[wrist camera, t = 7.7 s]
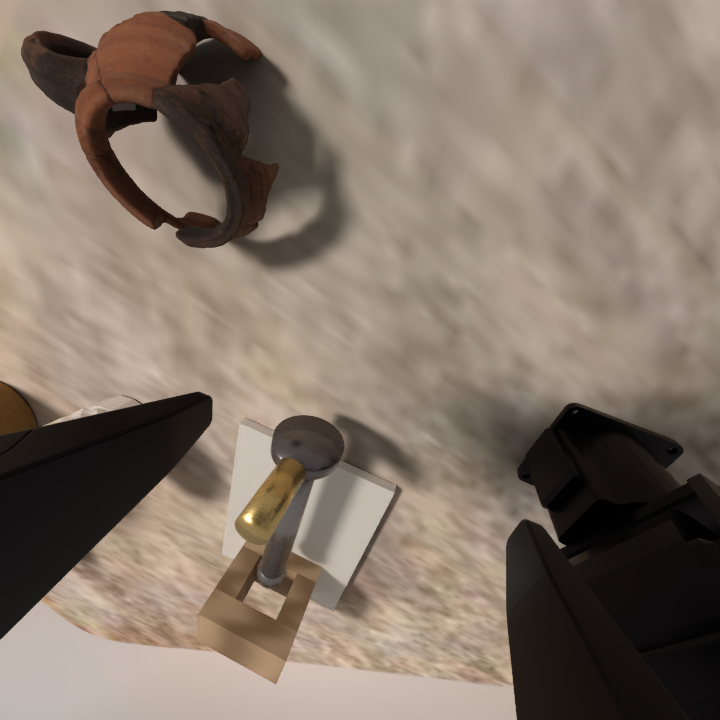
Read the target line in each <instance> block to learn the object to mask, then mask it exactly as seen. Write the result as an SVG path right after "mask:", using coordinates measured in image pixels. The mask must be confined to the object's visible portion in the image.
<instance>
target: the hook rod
mask: <svg viewBox="0 0 720 720" xmlns="http://www.w3.org/2000/svg"><path fill="white" fill-rule="evenodd" d="M343 451H344V440H343V437H342V435H341V434H340V432H339V431H338V430H337V428H335V427H334V426H333V425H332V424H331V423H329V422H327V421H325V420H323V419H321V418H318V417H314V416H307V415H300V416H293V417H290V418H287V419H285V420H284V421H282V422H281V423H280V424H279V425H278V426H277V427H276V428H275V430H274V433H273V437H272V442H271V448H270V452H271V457H272V459H273V461H274V463H275V464H276V466H275V467H274V469H273V470H272V471H271V473H270V474H269V475H268V477H267V478H266V480H265V481H264V482H263V484H262V485H261V486H260V488H259V489H258V490H257V492H256V493H255V495H254V496H253V497H252V499H251V500H250V501H249V503H248V504H247V505H246V507H245V508H244V509H243V511H242V512H241V514H240V515H239V516H238V518H237V519H236V520H235V529H236V531H237V532H238V534H239V535H240V536H241V537H242V538H243V539H245V540H246V541H248V542H250V543H252V544H255V545H264V544H266V545H265V549H264V553H263V557H262V559H261V561H260V563H259V565H258V568H257V579H258V581H259V583H260V584H261V585H262V586H263V587H265V588H275V587H277V586H278V585H280V584H281V583H282V582H283V580H284V579H285V577H286V574H287V568H288V566H287V564H288V561H289V557H290V554H291V551H292V548H293V545H294V542H295V539H296V536H297V533H298V530H299V527H300V523H301V520H302V517H303V514H304V511H305V508H306V505H307V502H308V499H309V496H310V493H311V490H312V486H313V483H314V480H317V479H321V478H324V477H326V476H328V475H330V474H331V473H332V472H334V471H335V469H336V468H337V467H338V465H339V462H340V460H341V457H342V454H343Z"/></svg>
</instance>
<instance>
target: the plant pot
mask: <svg viewBox="0 0 720 720" xmlns="http://www.w3.org/2000/svg"><path fill="white" fill-rule="evenodd" d="M35 428H36V420H35V417H34V415H33V413H32V411H31V409H30V408H29V406H28V405H27V403H26V402H25V401H24V400H23V399H22V398H21V397H20V396H19V395H18V394H17V393H16V392H15V391H14V390H13V389H11V388H10V387H9V386H7V385H6V384H4V383H1V382H0V435H5V434H10V433H14V432H18V431H23V430H27V429H35Z"/></svg>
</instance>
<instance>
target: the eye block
mask: <svg viewBox="0 0 720 720" xmlns="http://www.w3.org/2000/svg"><path fill="white" fill-rule="evenodd" d="M265 545H266V544H264V545H255V544H252V543H250V542H248V541H246V542H245V543H244V545H243V546H242V548H241V549H240V551H239V553H238V554H237V556H236V557H235V559H234V560H233V562H232V563H231V565H230V566H229V568H228V569H227V571H226V572H225V574H224V576H223V577H222V579H221V580H220V582H219V583H218V585H217V586H216V588H215V589H214V591H213V592H212V594H211V595H210V597H209V599H208V600H207V602H206V603H205V605H204V606H203V608H202V609H201V611H200V612H199V614H198V624H197V635H196V640H197V641H199V642H201V643H202V644H204V645H206V646H208V647H210V648H211V649H213V650H215V651H217V652H219V653H221V654H223V655H224V656H226V657H228V658H230V659H231V660H233V661H235V662H237V663H239V664H240V665H242V666H244V667H246V668H248V669H249V670H252V671H253V672H255V673H257V674H258V675H260V676H262V677H264V678H266V679H268V680H269V681H271V682H273V683H275V684H276V683H277V681H278V678H279V676H280V674H281V672H282V669H283V667H284V665H285V662H286V660H287V657H288V655H289V652H290V649H291V647H292V644H293V642H294V639H295V636H296V634H297V631H298V628H299V626H300V623H301V620H302V618H303V615H304V612H305V610H306V607H307V605H308V602H309V599H310V597H311V594H312V591H313V589H314V586H315V583H316V581H317V578H318V576H319V573H320V570H321V568H322V567H321V566H319V565H317V564H315V563H313V562H311V561H309V560H307V559H305V558H303V557H301V556H299V555H297V554H295V553H293V552H291V554H290V557H289V561H288V564H287V566H288V568H287V574H286V577H285V579H284V580H283V582H282V583H281V584H280V585H278V586H277V587H275V588H270V589H272V590H274V591H276V592H277V593H279V594H281V595H283V596H285V597H286V599H285V602H284V604H283V606H282V608H281V611H280V613H279V615H278V618H277V620H275V619H273V618H271V617H269V616H267V615H265V614H263V613H261V612H260V611H258V610H256V609H254V608H252V607H250V606H248V605H246V604H244V603H242V602H243V600H244V599H245V597H246V595H247V593H248V591H249V590H250V588H251V586H252V584H253V582H254V581H256V582H258V583H259V581H258V579H257V568H258V565H259V563H260V561H261V559H262V557H263V553H264V549H265Z"/></svg>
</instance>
